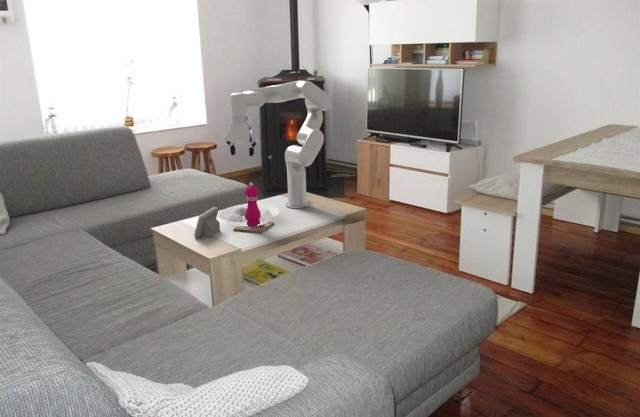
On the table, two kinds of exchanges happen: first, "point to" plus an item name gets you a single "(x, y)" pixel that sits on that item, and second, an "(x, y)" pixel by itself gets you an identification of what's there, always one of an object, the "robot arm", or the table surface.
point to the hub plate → (254, 228)
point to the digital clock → (207, 224)
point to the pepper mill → (252, 206)
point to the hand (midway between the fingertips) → (242, 155)
